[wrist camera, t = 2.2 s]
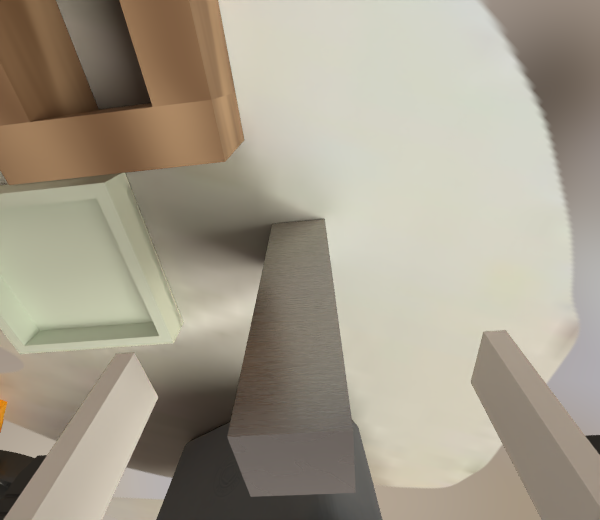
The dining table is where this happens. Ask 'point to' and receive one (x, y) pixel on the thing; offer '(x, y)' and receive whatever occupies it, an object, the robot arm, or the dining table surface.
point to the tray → (80, 268)
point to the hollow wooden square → (120, 120)
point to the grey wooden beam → (294, 375)
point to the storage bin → (263, 509)
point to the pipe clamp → (2, 412)
